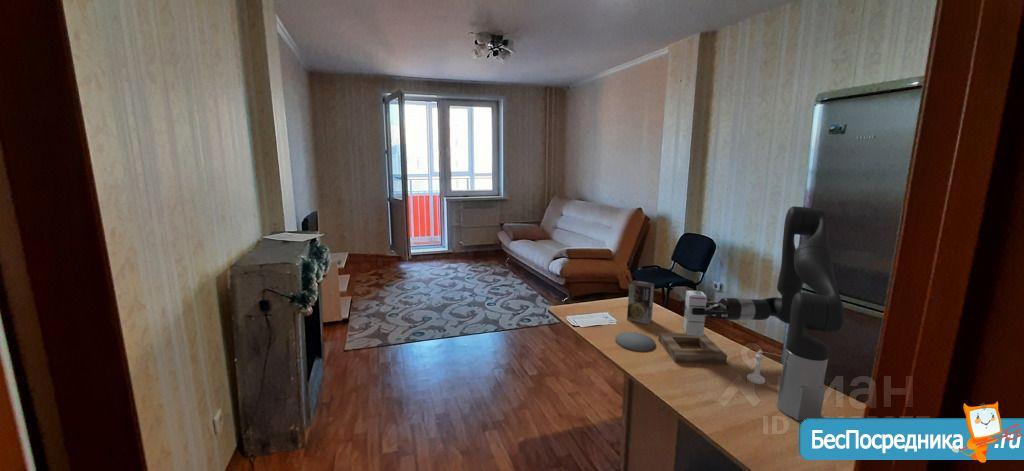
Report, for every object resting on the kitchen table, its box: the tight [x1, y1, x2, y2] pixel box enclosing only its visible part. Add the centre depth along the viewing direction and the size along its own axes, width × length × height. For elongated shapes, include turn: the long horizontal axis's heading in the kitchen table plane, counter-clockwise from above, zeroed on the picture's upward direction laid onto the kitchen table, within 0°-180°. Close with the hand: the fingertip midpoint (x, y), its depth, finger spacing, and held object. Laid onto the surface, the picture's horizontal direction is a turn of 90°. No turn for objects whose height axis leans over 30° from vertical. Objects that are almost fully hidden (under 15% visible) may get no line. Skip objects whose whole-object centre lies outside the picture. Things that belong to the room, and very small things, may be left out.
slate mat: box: [614, 331, 656, 352], centre depth 152 cm, size 14×14×1 cm
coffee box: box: [626, 280, 655, 325], centre depth 172 cm, size 9×6×16 cm
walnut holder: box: [658, 332, 728, 365], centre depth 145 cm, size 17×17×3 cm
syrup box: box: [682, 290, 708, 336], centre depth 143 cm, size 6×6×14 cm
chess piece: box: [746, 349, 766, 385], centre depth 127 cm, size 5×5×10 cm
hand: (688, 307), depth 142 cm, fingers closed on syrup box, 6 cm apart
